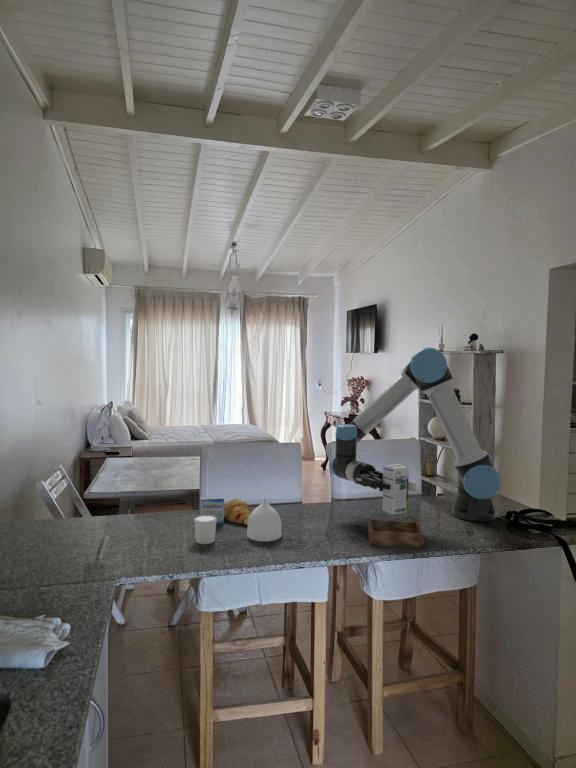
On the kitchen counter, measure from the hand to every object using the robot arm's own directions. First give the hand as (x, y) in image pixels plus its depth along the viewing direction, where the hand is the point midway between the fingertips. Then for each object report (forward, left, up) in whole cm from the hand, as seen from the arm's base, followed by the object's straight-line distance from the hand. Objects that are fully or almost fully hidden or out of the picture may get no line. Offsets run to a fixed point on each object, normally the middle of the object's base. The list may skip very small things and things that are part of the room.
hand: (406, 488), depth 152 cm
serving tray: (+3, -4, -17) cm, 18 cm away
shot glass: (+61, +7, -17) cm, 64 cm away
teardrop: (+44, -1, -18) cm, 47 cm away
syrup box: (+3, -4, -9) cm, 10 cm away
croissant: (+57, -17, -18) cm, 62 cm away
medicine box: (+64, -11, -17) cm, 67 cm away
